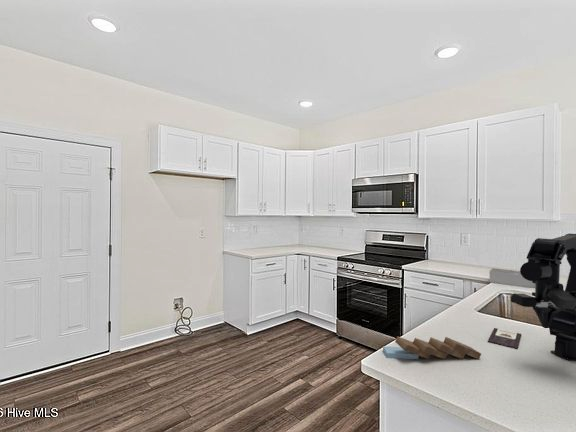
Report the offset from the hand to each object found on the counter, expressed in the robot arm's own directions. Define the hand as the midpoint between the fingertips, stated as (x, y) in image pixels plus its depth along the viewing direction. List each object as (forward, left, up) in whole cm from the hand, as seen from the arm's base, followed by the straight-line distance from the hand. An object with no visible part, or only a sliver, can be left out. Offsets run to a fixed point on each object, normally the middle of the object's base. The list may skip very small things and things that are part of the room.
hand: (545, 327), depth 98 cm
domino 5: (+17, -9, -11) cm, 22 cm away
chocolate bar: (-6, -21, -13) cm, 25 cm away
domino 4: (+23, -9, -11) cm, 27 cm away
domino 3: (+29, -10, -11) cm, 33 cm away
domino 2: (+35, -10, -10) cm, 38 cm away
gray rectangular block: (-97, -107, -12) cm, 145 cm away
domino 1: (+37, -11, -11) cm, 41 cm away
